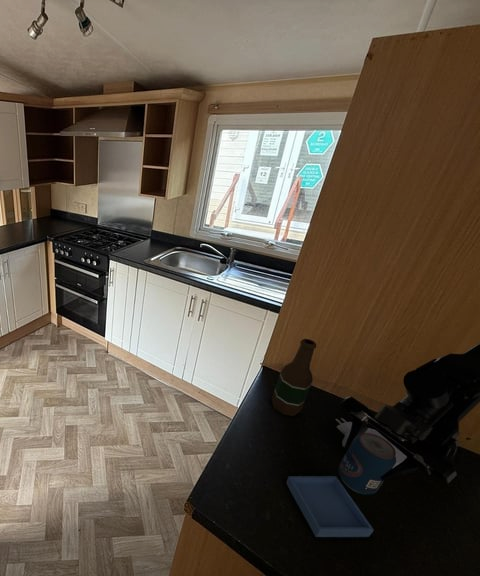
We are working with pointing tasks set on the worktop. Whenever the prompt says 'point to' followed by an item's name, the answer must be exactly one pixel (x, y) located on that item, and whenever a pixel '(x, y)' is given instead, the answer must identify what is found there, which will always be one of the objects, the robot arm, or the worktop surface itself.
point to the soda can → (367, 463)
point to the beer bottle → (294, 381)
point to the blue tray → (328, 507)
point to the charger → (346, 429)
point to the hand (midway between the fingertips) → (362, 463)
